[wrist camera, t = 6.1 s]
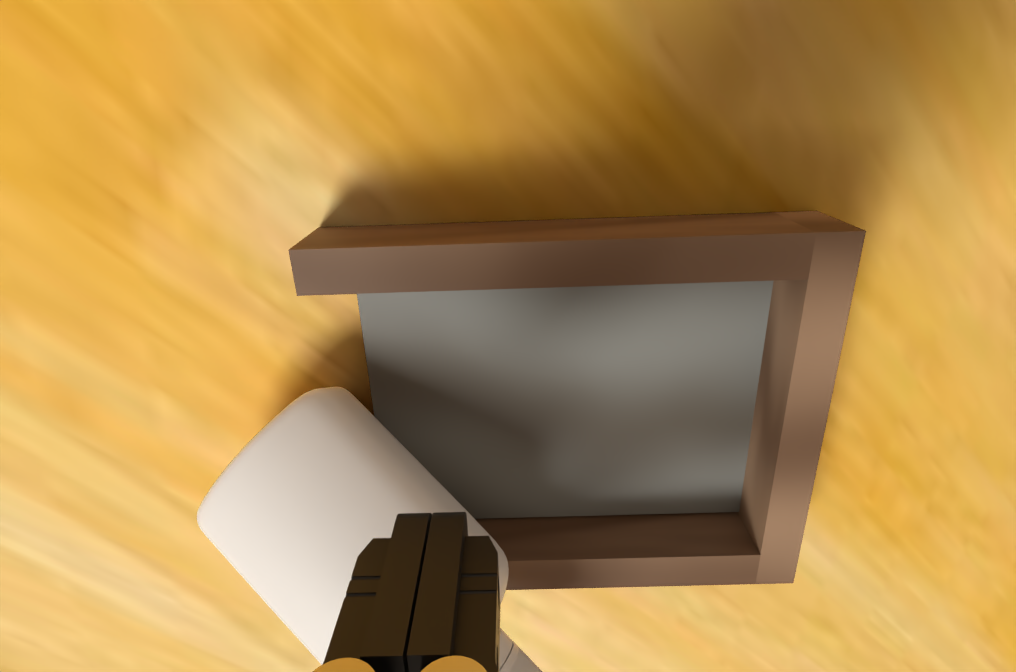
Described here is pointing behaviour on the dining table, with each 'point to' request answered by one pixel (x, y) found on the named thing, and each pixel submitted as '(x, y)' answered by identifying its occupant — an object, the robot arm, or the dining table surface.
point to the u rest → (608, 381)
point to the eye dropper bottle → (323, 511)
